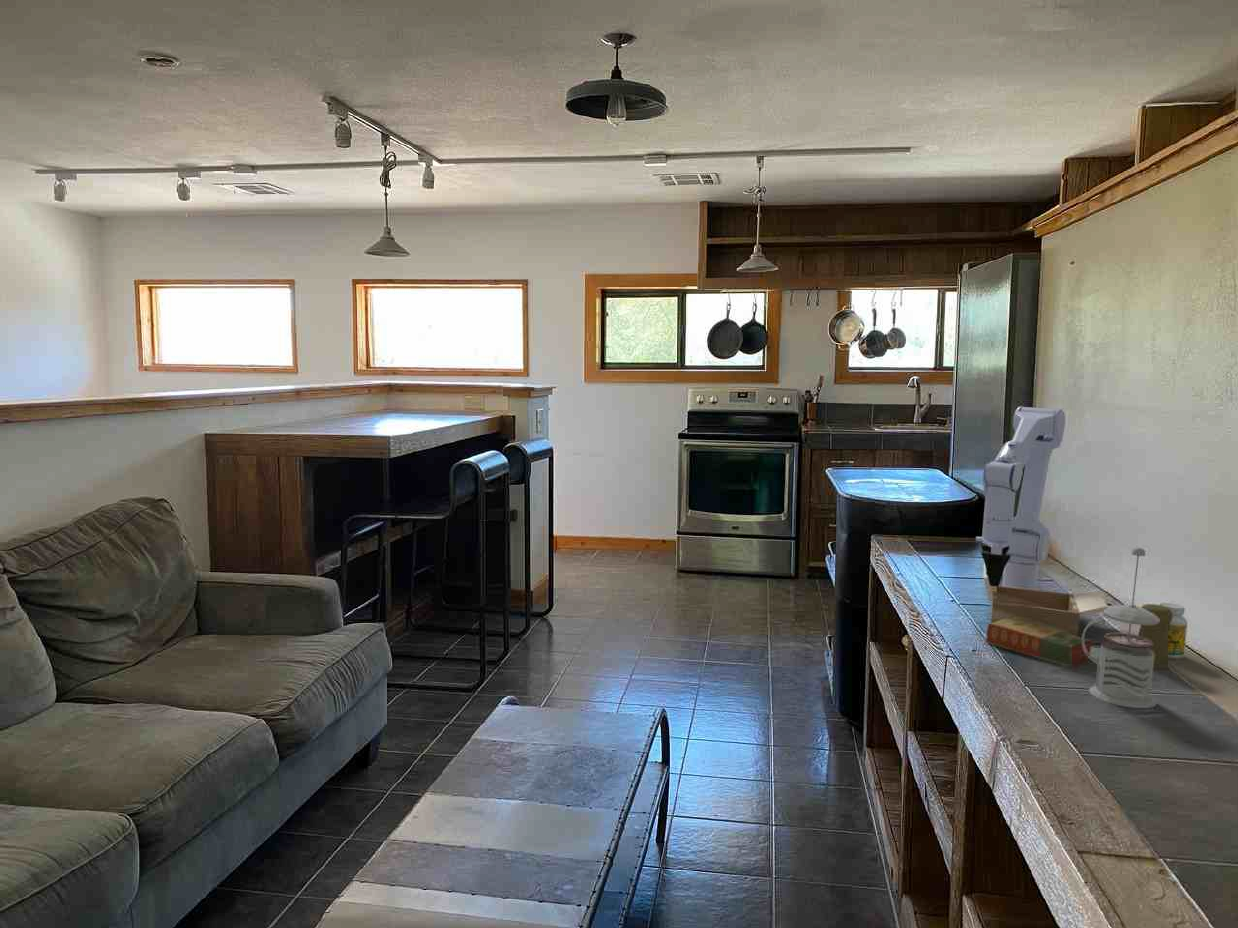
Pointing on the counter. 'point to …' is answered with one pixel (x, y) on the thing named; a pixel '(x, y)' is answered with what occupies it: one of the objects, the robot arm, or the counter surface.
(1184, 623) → the supplement bottle
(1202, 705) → the counter surface
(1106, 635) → the french press
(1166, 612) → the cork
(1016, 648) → the carton
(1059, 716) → the counter surface
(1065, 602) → the kraft box
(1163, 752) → the counter surface
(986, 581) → the flap
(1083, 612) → the flap
